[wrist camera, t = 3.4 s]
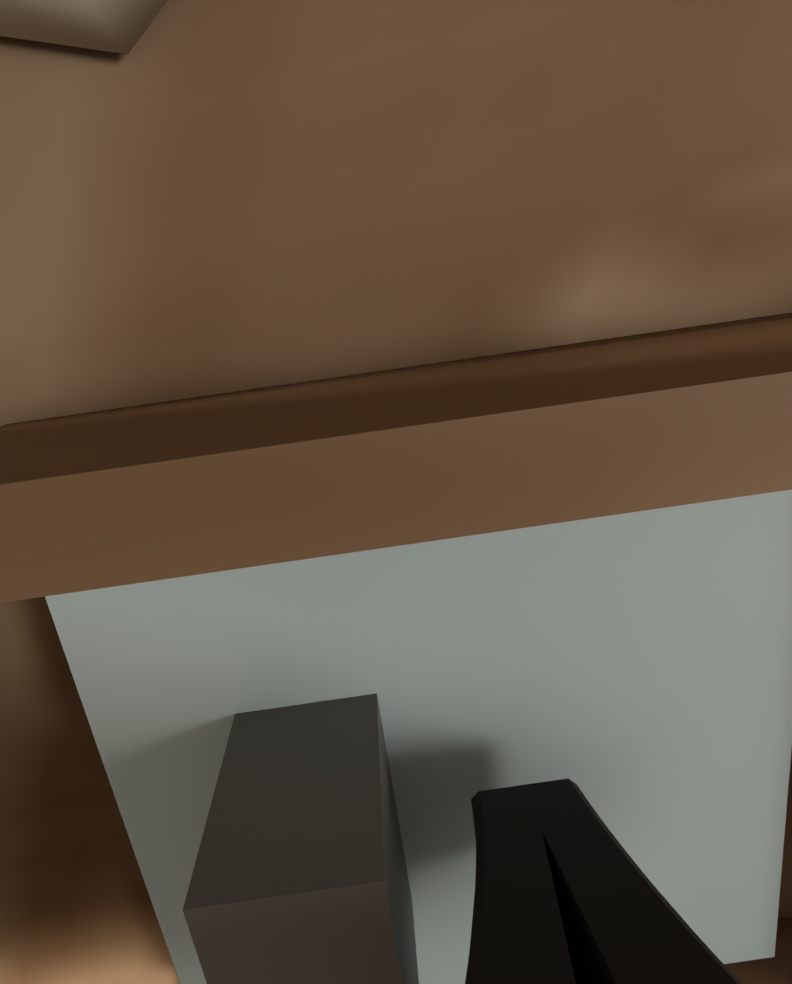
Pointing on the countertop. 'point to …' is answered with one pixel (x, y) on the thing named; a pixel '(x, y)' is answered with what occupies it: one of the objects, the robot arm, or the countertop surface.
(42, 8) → the flask
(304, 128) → the countertop surface
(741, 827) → the cover plate
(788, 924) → the box
